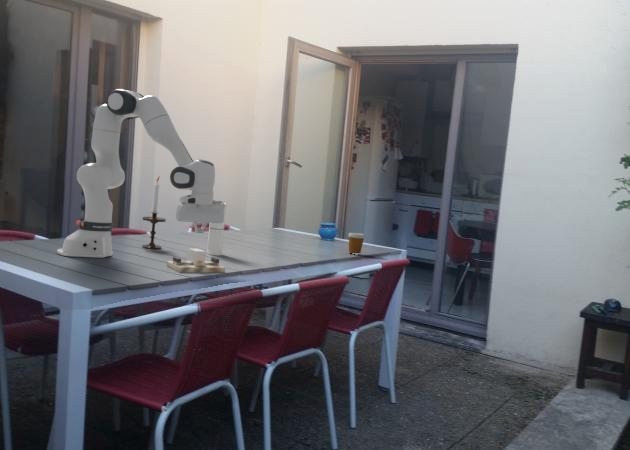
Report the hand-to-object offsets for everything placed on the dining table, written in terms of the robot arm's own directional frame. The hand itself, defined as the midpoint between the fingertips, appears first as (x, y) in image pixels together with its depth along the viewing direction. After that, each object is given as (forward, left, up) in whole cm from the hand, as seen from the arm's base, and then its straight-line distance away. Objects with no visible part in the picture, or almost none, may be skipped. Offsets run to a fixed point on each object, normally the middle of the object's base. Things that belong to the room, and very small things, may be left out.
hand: (198, 233), depth 271 cm
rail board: (0, 0, -15) cm, 15 cm away
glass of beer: (+116, +44, -15) cm, 125 cm away
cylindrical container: (+26, +38, -15) cm, 49 cm away
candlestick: (0, +53, -15) cm, 55 cm away
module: (0, 0, -13) cm, 13 cm away
